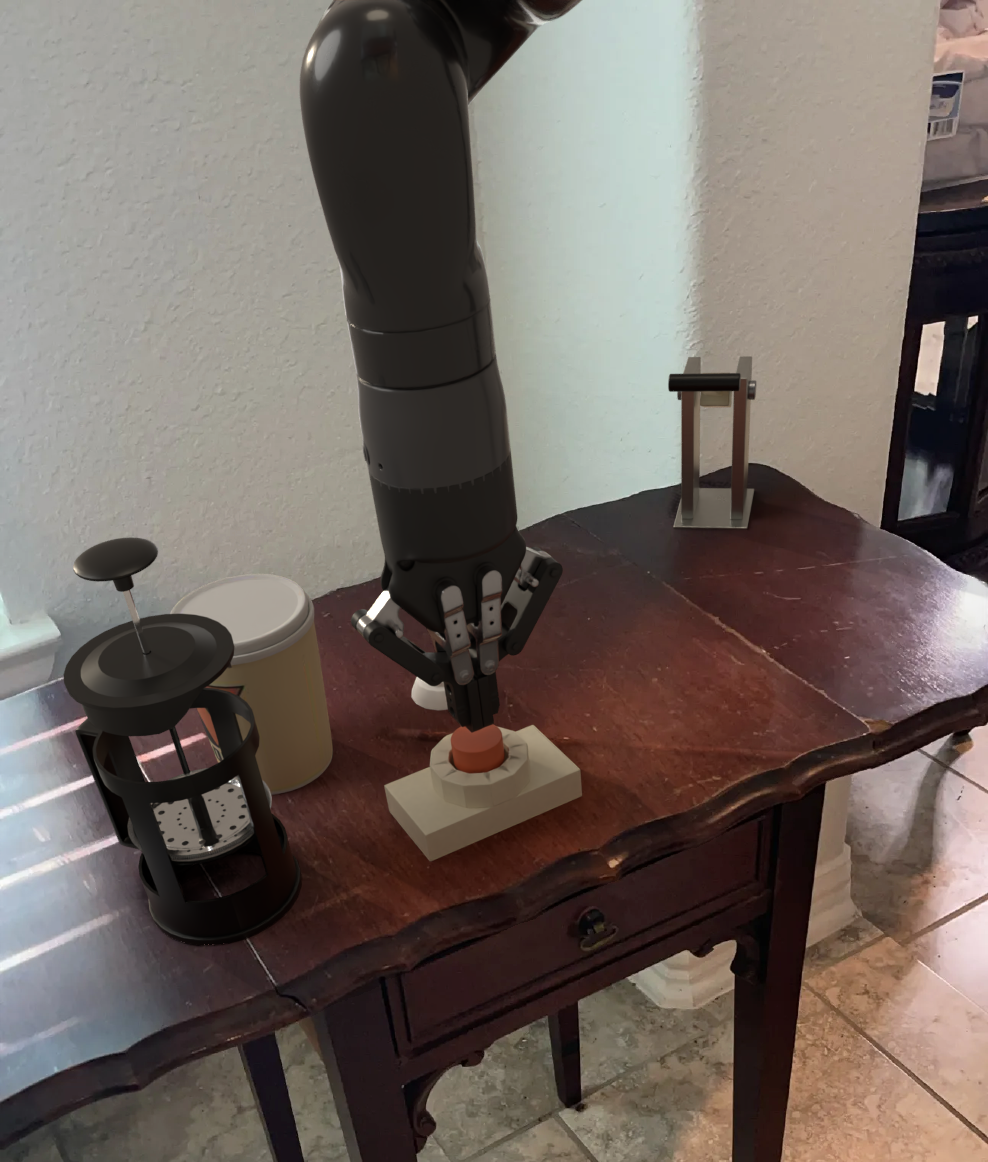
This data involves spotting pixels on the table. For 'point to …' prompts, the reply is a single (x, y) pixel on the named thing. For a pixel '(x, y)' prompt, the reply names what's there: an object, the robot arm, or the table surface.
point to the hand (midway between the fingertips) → (476, 722)
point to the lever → (707, 387)
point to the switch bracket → (699, 503)
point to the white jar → (429, 695)
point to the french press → (195, 798)
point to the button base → (482, 793)
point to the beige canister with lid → (271, 673)
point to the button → (477, 749)
